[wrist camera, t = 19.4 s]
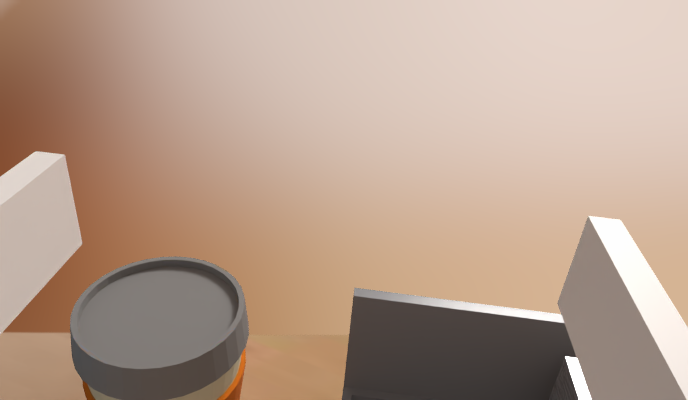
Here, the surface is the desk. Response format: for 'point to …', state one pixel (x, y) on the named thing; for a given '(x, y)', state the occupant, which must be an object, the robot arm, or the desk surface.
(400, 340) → the rack
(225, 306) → the reusable coffee cup
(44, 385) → the desk surface
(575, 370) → the brushed metal block
